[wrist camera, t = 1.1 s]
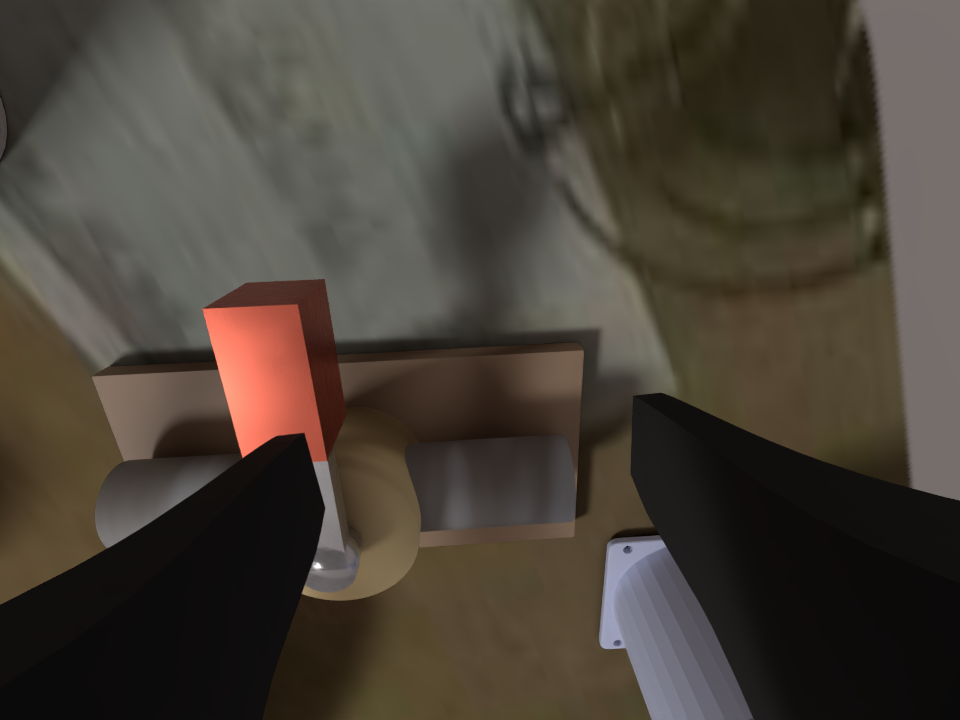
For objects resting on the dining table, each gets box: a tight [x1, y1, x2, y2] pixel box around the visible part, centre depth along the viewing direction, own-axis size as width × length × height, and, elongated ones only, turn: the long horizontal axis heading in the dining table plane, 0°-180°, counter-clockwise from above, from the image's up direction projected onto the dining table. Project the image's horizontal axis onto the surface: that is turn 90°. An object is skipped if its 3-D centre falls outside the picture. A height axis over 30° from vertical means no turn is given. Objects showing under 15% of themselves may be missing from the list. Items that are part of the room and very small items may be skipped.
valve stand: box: [92, 342, 584, 601], centre depth 20 cm, size 20×10×6 cm, turn 92°
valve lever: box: [203, 279, 363, 593], centre depth 14 cm, size 10×2×3 cm, turn 2°
